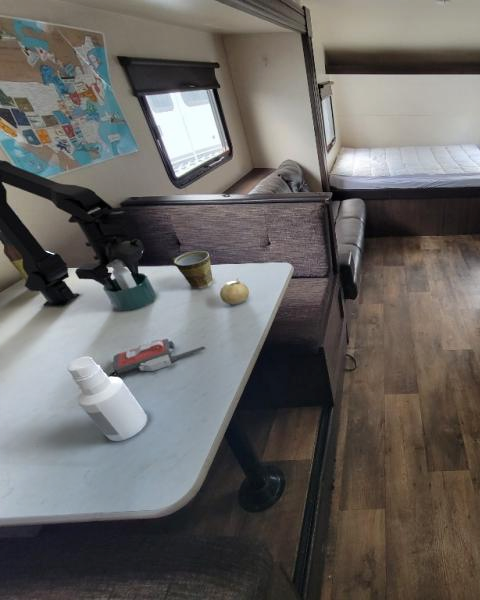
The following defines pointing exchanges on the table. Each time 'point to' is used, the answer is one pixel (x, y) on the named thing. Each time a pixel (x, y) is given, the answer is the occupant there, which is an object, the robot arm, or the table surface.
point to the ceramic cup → (195, 268)
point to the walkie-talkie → (147, 358)
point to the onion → (234, 292)
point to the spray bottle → (107, 400)
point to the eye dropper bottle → (122, 276)
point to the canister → (132, 294)
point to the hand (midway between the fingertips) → (126, 284)
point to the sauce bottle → (13, 255)
